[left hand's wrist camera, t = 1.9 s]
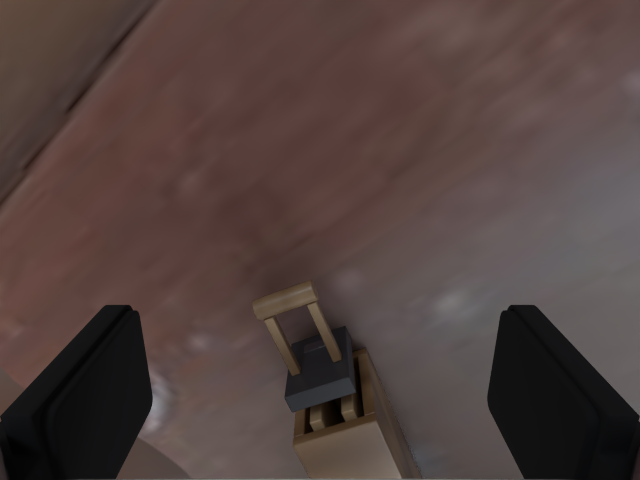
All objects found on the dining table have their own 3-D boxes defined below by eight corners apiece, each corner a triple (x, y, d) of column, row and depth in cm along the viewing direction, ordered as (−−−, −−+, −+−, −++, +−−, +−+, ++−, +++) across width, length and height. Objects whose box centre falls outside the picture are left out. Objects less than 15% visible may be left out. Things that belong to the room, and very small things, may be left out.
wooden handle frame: (258, 277, 30) (243, 320, 24) (315, 256, 29) (312, 296, 24) (361, 486, 36) (367, 557, 31) (409, 472, 36) (424, 542, 30)
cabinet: (299, 369, 33) (292, 446, 26) (365, 347, 33) (376, 420, 26) (369, 509, 38) (378, 606, 31) (428, 493, 38) (451, 588, 31)
